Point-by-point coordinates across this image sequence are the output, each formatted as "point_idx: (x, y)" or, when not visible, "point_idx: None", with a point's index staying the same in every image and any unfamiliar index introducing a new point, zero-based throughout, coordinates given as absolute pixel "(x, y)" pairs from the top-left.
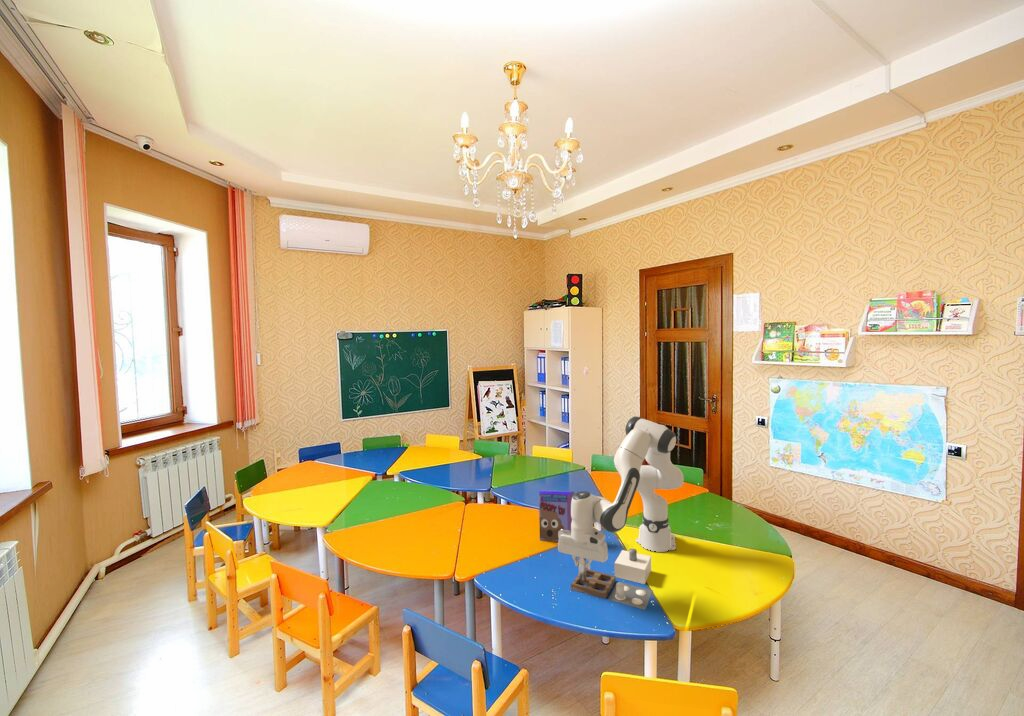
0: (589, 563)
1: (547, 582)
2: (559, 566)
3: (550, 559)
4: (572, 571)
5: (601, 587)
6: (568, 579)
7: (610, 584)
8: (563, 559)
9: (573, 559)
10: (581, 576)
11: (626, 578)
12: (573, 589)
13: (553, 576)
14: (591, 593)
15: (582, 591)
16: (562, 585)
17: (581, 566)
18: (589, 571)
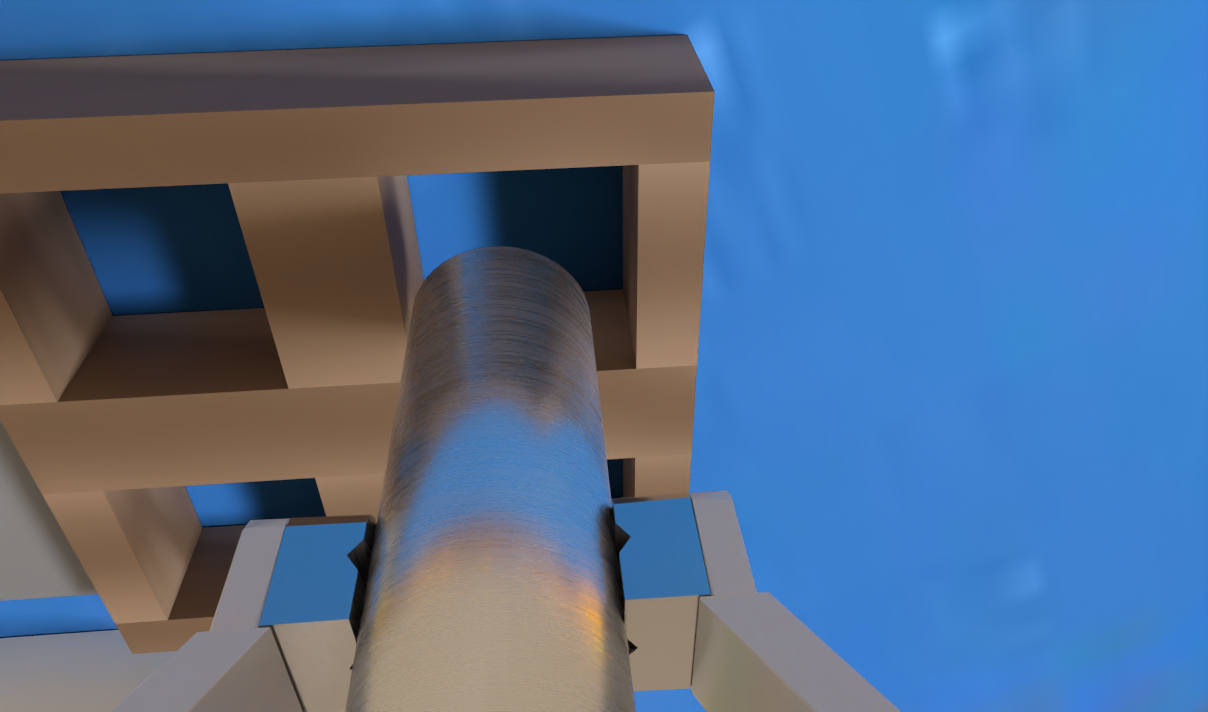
0: (138, 706)
1: (1205, 102)
2: (1041, 543)
3: (1183, 607)
4: (835, 529)
5: (184, 352)
6: (842, 349)
7: (20, 454)
8: (1009, 665)
9: (833, 660)
10: (486, 301)
11: (47, 679)
12: (640, 57)
13: (1105, 311)
14: (216, 82)
15: (431, 70)
16: (903, 150)
17: (470, 511)
18: None
